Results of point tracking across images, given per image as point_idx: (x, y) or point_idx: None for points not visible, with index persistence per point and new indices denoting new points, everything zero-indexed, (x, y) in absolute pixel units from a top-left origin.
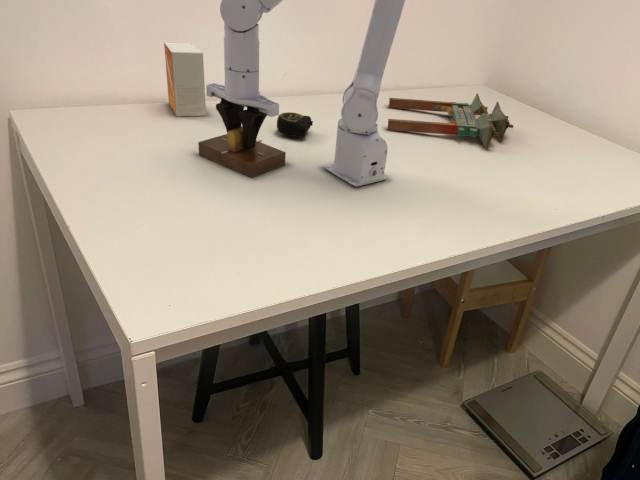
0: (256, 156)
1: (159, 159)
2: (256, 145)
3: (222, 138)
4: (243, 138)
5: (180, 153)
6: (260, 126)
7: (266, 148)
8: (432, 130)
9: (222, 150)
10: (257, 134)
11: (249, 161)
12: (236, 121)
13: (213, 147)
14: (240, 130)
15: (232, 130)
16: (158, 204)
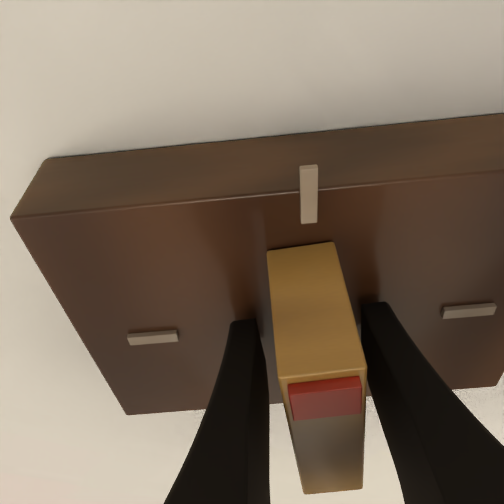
0: (464, 335)
1: (119, 433)
2: (351, 251)
3: (134, 342)
4: (382, 423)
5: (89, 385)
6: (494, 440)
7: (443, 230)
8: None
9: (280, 396)
10: (436, 375)
11: (468, 379)
12: (259, 487)
13: None
14: (346, 460)
15: (311, 480)
16: (366, 494)
